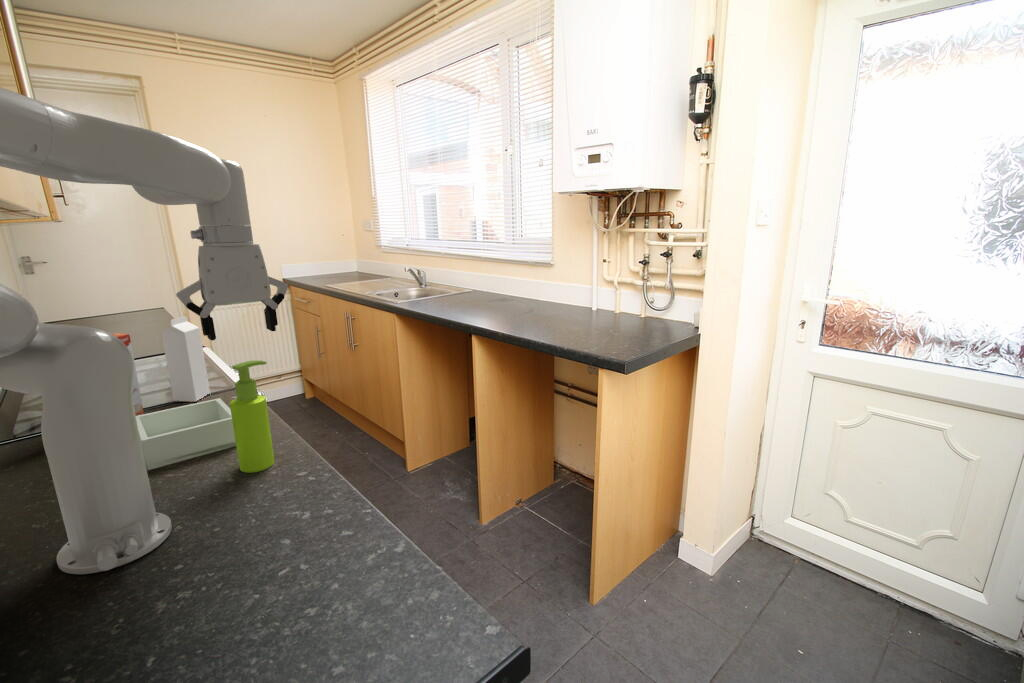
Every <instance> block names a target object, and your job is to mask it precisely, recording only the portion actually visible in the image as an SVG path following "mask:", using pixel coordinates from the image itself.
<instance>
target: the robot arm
mask: <svg viewBox="0 0 1024 683" xmlns="http://www.w3.org/2000/svg"><path fill="white" fill-rule="evenodd" d="M0 167H3V168H5V169H9V170H14V171H15V170H16V171H19V172H22V173H26V174H30V175H35V176H38V177H43V178H47V179H50V180H51V179H52V180H57V181H63V182H71V183H80V184H90V185H91V184H93V185H95V184H96V185H102V184H103V185H122V186H123V185H125V186H131V187H132V188H133V189H134V191H135V192H136V193H137V194H138V195H139V196H140V197H141V198H143V199H145V200H146V201H149V202H151V203H154V204H157V205H162V206H180V205H181V206H182V205H195V206H196V211H197V212H196V213H197V217H198V222H199V223H198V224H199V226H198V228H197V229H195V230H190V237H191V239H192V240H193V239H194V240H196V239H197V240H199V241H201V243H202V245H199V246H198V253H197V263H198V267H197V268H198V277H199V279H198V280H197V281H195V282H194V283H192V284H190V285H188V286H186V287H185V288H183V289H181V290H179V291H178V292H176V293H175V294H176V297H177V299H179V301H180V302H181V303H182V304H183V305H184V307H185V308H186V309H187V310H189V311H191V312H193V313H194V314H195V315H197V316H199V318H200V324H201V329H202V330H201V331H202V334H203V336H204V337H207V338H208V340H210V341H215V340H216V339H217V336H216V329H215V324H214V318H213V317H212V316H211V313H212V312H213V310H214V308H216V306H218V307H219V306H230V305H239V304H248V303H259V302H261V303H262V304H263V305H264V306H265V308H264V309H263V312H264V320H265V326H266V327H265V328H266V330H269V331H270V332H276V331H277V330H276V329H277V328H276V327H277V326H278V325H279V324H278V323H279V322H278V317H277V309H278V307H279V305H280V304H281V303H282V302H283V300H284V299H285V295H286V294H287V291H288V289H289V284H288V283H287V282H284V281H281V280H279V279H276V278H274V277H271V276H269V274H268V270H267V265H266V262H265V258H264V255H263V252H262V249H261V247H260V244H256V243H254V238H253V231H252V225H251V217H250V210H249V204H248V203H249V202H248V195H247V190H246V183H245V174H244V170H243V168H242V166H241V165H240V164H239V163H238V162H236V161H233V160H230V159H221V158H219V157H218V156H217V155H215V154H213V152H211V151H209V150H208V149H205V148H204V147H201V146H198V145H196V144H193V143H190V142H187V141H185V140H183V139H181V138H177V137H174V136H171V135H168V134H165V133H162V132H158V131H155V130H152V129H148V128H147V129H146V128H142V127H139V126H134V125H130V124H126V123H121V122H118V121H113V120H109V119H105V118H102V117H97V116H93V115H89V114H82V113H79V112H75V111H74V112H73V111H69V110H67V109H65V108H60V107H58V106H54V105H52V104H49V103H46V102H43V101H40V100H37V99H35V98H32V97H29V96H28V95H27V96H26V95H23V94H22V93H18V92H15V91H12V90H9V89H7V88H4V87H0ZM271 286H274V287H276V289H277V290H276V293H274V295H273V296H272V292H271V290H272V289H271ZM197 292H200V294H201V298H202V300H203V302H202V304H201V305H200V306H198V305H197V304H196V303H194V302H193V300H192V299H191V296H192V295H194V294H196V293H197ZM271 296H272V297H271ZM110 333H111V332H108V331H107V330H102V329H100V328H98V327H97V328H95V327H89V326H84V325H83V326H82V325H73V324H71V325H70V324H60V323H59V324H53V323H45V322H42V321H40V320H39V317H38V314H37V311H36V309H35V308H34V307H33V305H32V304H31V302H29V301H28V300H27V299H26V298H25V297H23V296H22V295H21V294H19V293H18V292H17V291H16V290H13V289H11V288H10V287H8V286H6V285H4V284H2V283H0V388H1V389H4V390H8V391H12V392H16V393H22V394H27V395H34V396H38V397H41V398H42V414H41V423H40V424H41V425H40V430H41V431H40V432H41V440H42V443H43V449H44V452H45V456H46V458H47V462H48V465H49V469H50V470H49V471H50V474H51V477H52V480H53V481H52V482H53V486H54V489H55V494H56V498H57V500H58V501H57V502H58V504H59V508H60V512H61V517H62V520H63V525H64V527H65V528H64V529H65V531H66V535H67V536H66V537H67V539H68V541H67V542H66V543H65V544H64V545H62V547H61V548H60V550H59V551H58V552H57V555H56V564H57V567H58V569H59V570H61V572H64V573H65V574H72V575H89V574H95V573H100V572H106V571H109V570H112V569H115V568H117V567H121V566H124V565H126V564H129V563H132V562H133V561H135V560H137V559H141V558H142V557H143V556H145V555H147V554H149V553H151V552H152V551H153V550H155V549H156V548H158V547H159V546H160V545H161V544H162V543H163V542H164V541H166V539H167V538H168V537H169V536H170V533H171V531H172V530H173V528H172V527H173V525H172V520H171V518H170V517H169V516H168V515H167V514H164V513H161V512H156V507H155V503H154V499H153V493H152V488H151V483H150V479H149V475H148V469H147V467H146V464H145V459H144V454H143V449H142V444H141V439H140V435H139V431H138V426H137V421H136V415H135V409H134V401H133V378H134V365H133V359H132V356H131V353H130V351H129V349H128V348H127V346H126V345H125V344H124V343H123V342H122V341H121V340H120V339H119V338H117V337H116V336H114V335H112V334H110Z"/></svg>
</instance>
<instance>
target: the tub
mask: <svg viewBox="0 0 1024 683" xmlns="http://www.w3.org/2000/svg"><path fill="white" fill-rule="evenodd" d="M136 421H137V426H138V431H139V435H140V439H141V444H142V449H143V454H144V459H145V464H146V468H147V471H151V470H155V469H158V468H162V467H165V466H168V465H169V466H170V465H173V464H176V463H180V462H184V461H187V460H190V459H194V458H197V457H200V456H205V455H208V454H212V453H215V452H219V451H223V450H227V449H230V448H233V447H236V441H235V435H234V429H233V422H232V416H231V410H230V406H228V405H227V404H226V403H225V401H223V400H222V399H221V398H220V397H218V398H213V399H210V400H204V401H199V402H197V403H189V404H186V405H182V406H176V407H172V408H167V409H163V410H158V411H153V412H148V413H144V414H143V415H138V416H136Z"/></svg>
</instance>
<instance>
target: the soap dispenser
mask: <svg viewBox="0 0 1024 683" xmlns="http://www.w3.org/2000/svg"><path fill="white" fill-rule="evenodd" d="M266 364H267V361H265V360H264V361H263V360H248V361H244V362H241V363H236V364H234V365H232V367H231V368H232V370H235V371H238V372H237V373H238V380H237V381H236V382H234V388H235V395H236V398H235V399H234V398H233V399H232V400H230V401H229V408H230V410H231V416H232V422H233V429H234V435H235V441H236V446H235V447H236V448H235V449H236V453H237V459H238V460H237V461H238V466H239V467H238V468H239V470H240V471H241V472H244V473H258V472H262V471H265V470H267V469H270V467H272V466H273V465H274V464H275V461H276V460H275V453H274V447H273V440H272V433H271V432H272V431H271V427H270V424H271V423H270V419H269V411H268V404H267V398H266V396H265V395H261V394H258V388H257V380H255V379H254V378H251V376H250V369H249V368H251V367H254V366H261V365H263V366H264V365H266Z"/></svg>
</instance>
